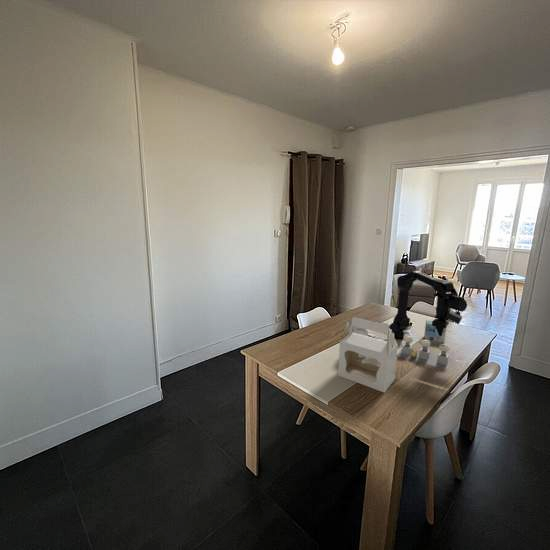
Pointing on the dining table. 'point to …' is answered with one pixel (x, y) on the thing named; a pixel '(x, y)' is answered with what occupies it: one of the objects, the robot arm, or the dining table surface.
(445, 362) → the panel
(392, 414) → the dining table surface
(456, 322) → the robot arm
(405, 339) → the knob
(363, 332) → the milk carton
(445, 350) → the knob
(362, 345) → the gable box
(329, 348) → the dining table surface
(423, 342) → the knob mid
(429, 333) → the light bulb box
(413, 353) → the knob
